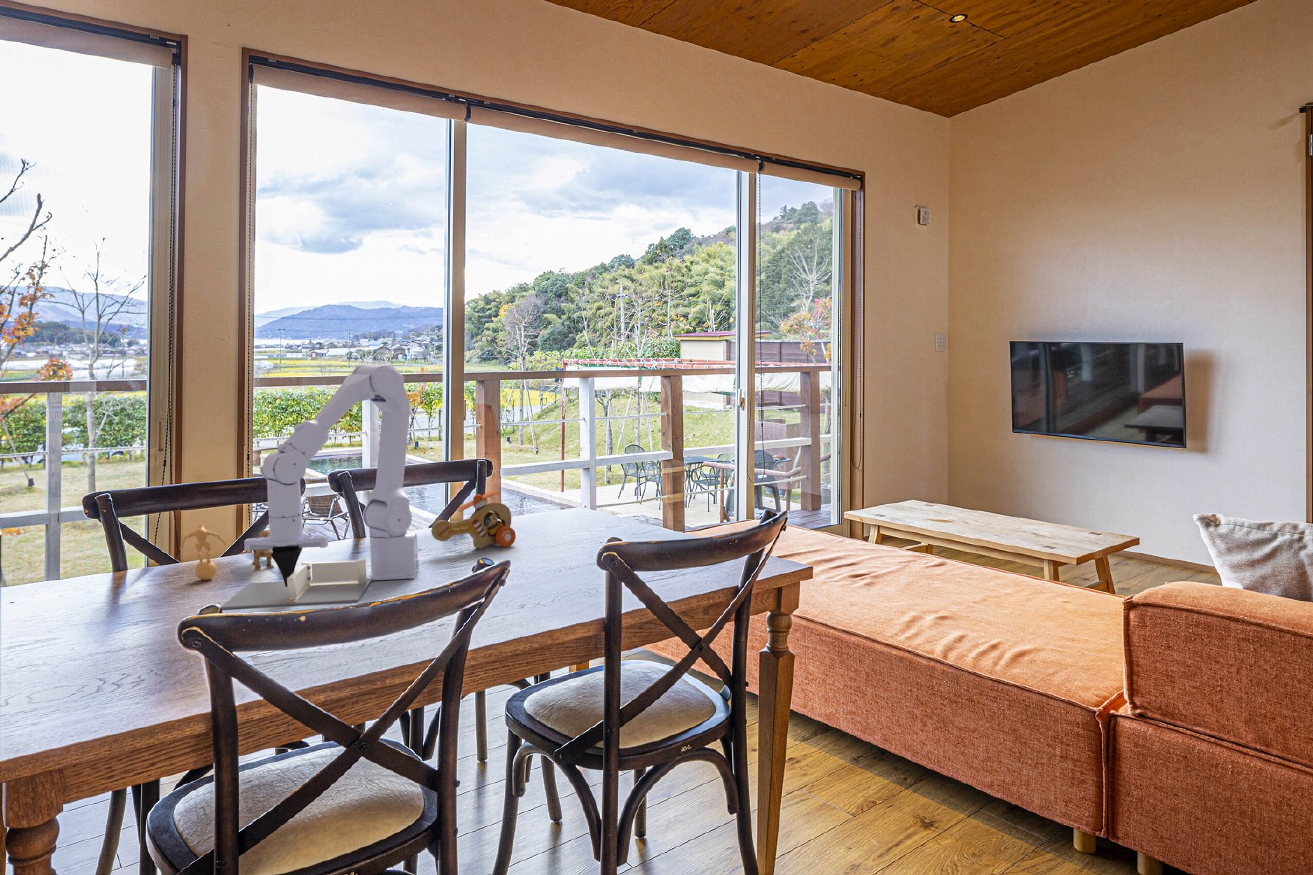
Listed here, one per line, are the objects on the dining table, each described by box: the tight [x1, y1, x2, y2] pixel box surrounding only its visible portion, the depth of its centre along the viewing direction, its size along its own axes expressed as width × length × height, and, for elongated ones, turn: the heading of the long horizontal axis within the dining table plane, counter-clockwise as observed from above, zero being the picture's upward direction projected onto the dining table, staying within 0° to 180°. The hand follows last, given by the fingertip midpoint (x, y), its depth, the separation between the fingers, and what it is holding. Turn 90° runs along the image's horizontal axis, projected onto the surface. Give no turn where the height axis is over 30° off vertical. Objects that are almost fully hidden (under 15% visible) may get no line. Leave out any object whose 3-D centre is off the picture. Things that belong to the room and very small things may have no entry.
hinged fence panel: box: [287, 565, 308, 599], centre depth 157 cm, size 10×1×4 cm, turn 9°
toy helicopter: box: [430, 489, 517, 550], centre depth 194 cm, size 8×21×14 cm, turn 134°
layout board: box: [220, 576, 372, 610], centre depth 160 cm, size 24×16×1 cm, turn 99°
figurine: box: [179, 524, 227, 581], centre depth 168 cm, size 8×6×12 cm
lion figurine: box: [251, 529, 275, 572], centre depth 181 cm, size 15×5×9 cm, turn 36°
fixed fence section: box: [300, 559, 367, 586], centre depth 164 cm, size 12×2×5 cm, turn 99°
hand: (288, 585), depth 156 cm, fingers closed
